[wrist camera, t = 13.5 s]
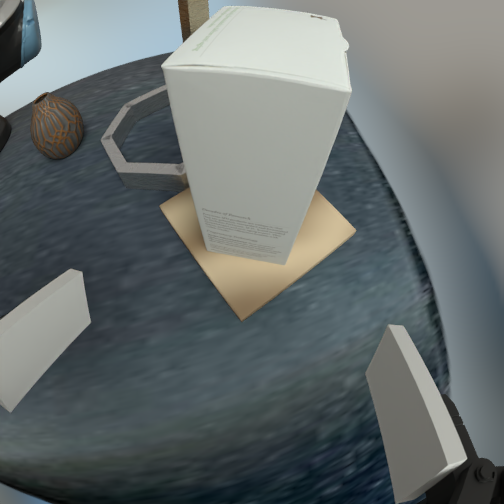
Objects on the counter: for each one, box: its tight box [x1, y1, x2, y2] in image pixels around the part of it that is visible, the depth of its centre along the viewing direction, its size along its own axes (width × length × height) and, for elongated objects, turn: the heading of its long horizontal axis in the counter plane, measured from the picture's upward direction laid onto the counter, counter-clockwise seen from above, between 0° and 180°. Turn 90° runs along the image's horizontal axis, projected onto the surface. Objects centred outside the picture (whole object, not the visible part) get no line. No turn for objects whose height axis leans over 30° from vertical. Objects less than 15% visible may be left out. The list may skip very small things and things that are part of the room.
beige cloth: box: [160, 187, 356, 322], centre depth 23 cm, size 12×12×1 cm
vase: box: [30, 92, 84, 159], centre depth 24 cm, size 7×7×9 cm
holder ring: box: [101, 0, 209, 192], centre depth 22 cm, size 17×17×14 cm
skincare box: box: [161, 6, 352, 265], centre depth 15 cm, size 8×7×16 cm
